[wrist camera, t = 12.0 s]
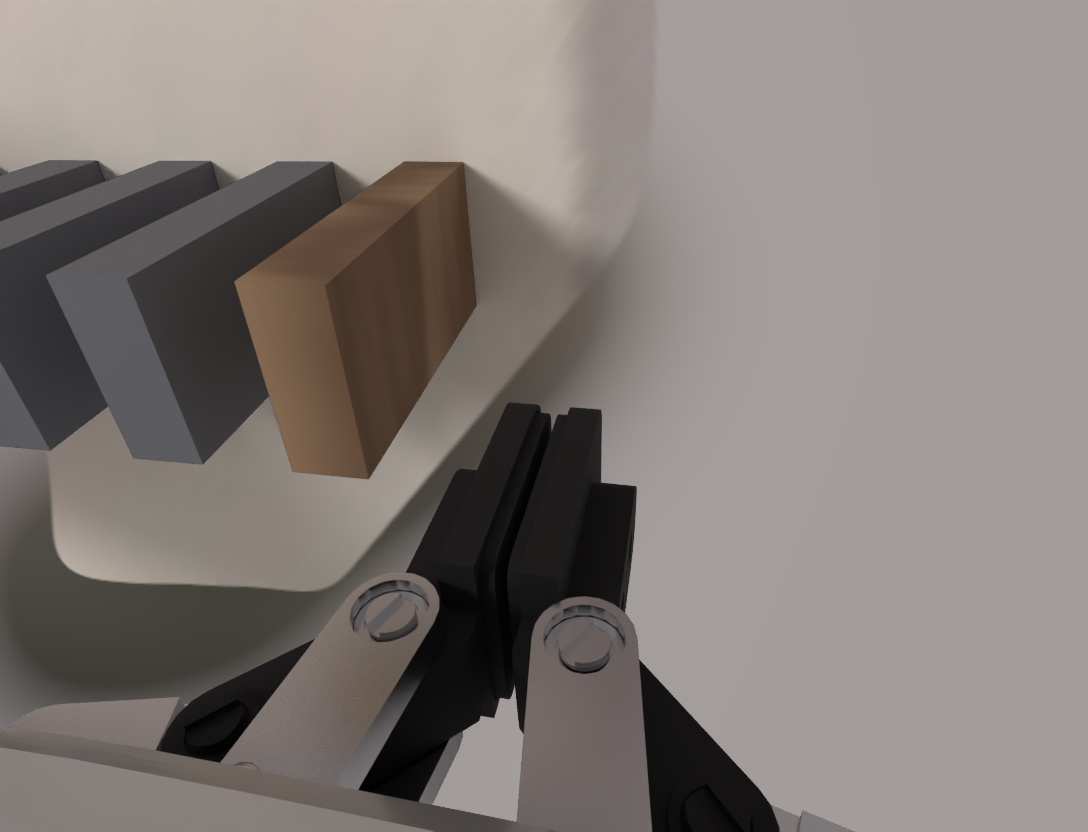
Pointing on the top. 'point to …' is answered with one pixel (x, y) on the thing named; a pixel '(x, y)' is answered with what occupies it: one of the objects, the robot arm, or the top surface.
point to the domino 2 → (34, 312)
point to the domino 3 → (187, 310)
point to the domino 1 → (45, 184)
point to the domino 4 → (362, 315)
